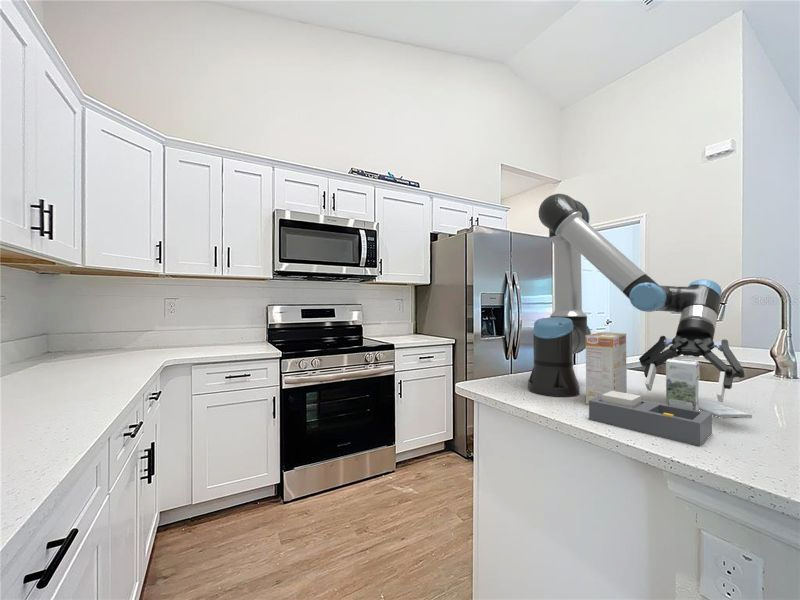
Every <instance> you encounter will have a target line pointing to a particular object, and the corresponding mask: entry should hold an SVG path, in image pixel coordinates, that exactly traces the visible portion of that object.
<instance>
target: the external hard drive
mask: <svg viewBox="0 0 800 600" xmlns="http://www.w3.org/2000/svg"><path fill="white" fill-rule="evenodd" d="M698 403H699V410H700V411H704V412H709V413H712V415H713V416H712V417H715V416H717V417H716V418H718V417H720V418H719V419H753V414H750V413H747V412H745V411H744V412H743V411H741V410H738V409H735V408H732V407H729V406H727V405H723V404H720V403H716V402H714V401H710V400H707V399H698ZM721 417H723V418H721Z"/></svg>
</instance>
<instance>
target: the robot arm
mask: <svg viewBox="0 0 800 600" xmlns="http://www.w3.org/2000/svg"><path fill="white" fill-rule="evenodd" d="M538 219H539V221H540V223H541V224H542V225H543V226H544V227H546V228H547V229H548V237H549V238H548V239H549V241H550V242H551V243H553V262H554V263H553V265H554V267H553V268H554V273H553V275H554V311H553V312H552V313H551V314H550V315H549V316H550V317H542V318H538V319H537V320H535V321H534V323H533V330H532V333H533V367H532V370H531V372H530V375H529V378H528V381H527V390H528V391H530V392H531V393H535V394H539V395H543V396H548V397H549V396H550V397H574V396H578V395H580V385H579V382H578V379H577V375H576V374H575V373H576V372H575V370H574V355H576V354H578V353H579V354H580V353H582V352H583V351H584V350H586V337H585V336H586V335H590V334H592V330H591V329H590V327H589V326H588V315H587V314H586V313H585V312H584V311H583V309H582V308H583V301H582V300H583V299H582V298H583V297H582V294H583V292H582V290H583V289H582V287H583V286H582V256H583V257H584V258H585V259H586V260H587V261H588V262H589V263H590V264H592V266H594V267H595V269H597V270H598V271H599V272H600V273H601V274H602V275H604V277H605V278H606V279H608V281H610V282H611V283H612V284H613V285H614V286H615V287H616V288H617V289H618V290H619V291H620V292H622V294H623V295H624V296H625V297H626V298H627V299H629V302H630V304H631V305H632V306H633V307H634V308H635V309H637V310H639V311H642V312H648V313H652V312H657V311H658V312H668V313H669V312H671V313H678V314H679V313H681V314H680V317H679V322H678V325H677V329H676V333H675V336H674V337H673V338H667V337H666V336H665V335H660V336H659V339H658V341H657V342H655V344H653V345H652V346H651V347H650V348H649V349H648V350H647V351H646V352H645V353H643V355H641V356H640V357H639V358H638V360H639V363H640V366H642V367H644V370H643V374H644V377H645V378H646V379H645V383H644V385H645V387H646V389H647V391H649V392H651V391H652V389H653V385H654V381H655V378H656V374H657V367H659V366H661V365H662V364H664V363H666V361H667V360H668V359H670V358H671V359H675V358H678V357H679V356H682V355H683V357H691V356H692V357H695V358H699V357H703V358H704V359H705V360H706V361H709V363H710V364H712V365H713V366H714V367H715V368H716V369H717V370H719V379H718V384H717V389H716V390H717V391H716V397H717V400H718V401H717V402H719V403H724V399H725V398H724V397H725V393H726V392H725V391H726V390H731V389H732V387H733V381H734V378H739V379H741V378H742V379H743V378H745V377H746V375H745V370H744V367H743V365H742V364H741V363H740V362H739V360H738V358H737V357H736V356H735V354H734V353H733V352H732V350H731V349H730V345H729V341H728V340H727V339H726V338H725V339H722V340H721V341H714V337H715V334H716V333H715V331H716V327H717V321H718V316H719V311H720V310H719V309H720V307H721V302H722V291H723V290H722V288H721V286H720V285H719V283H717V282H715V281H714V280H710V279H705V278H704V279H697V280H694V281H693V280H692V281H691V282H690V283H689V284H688V286H674V285H673V286H672V285H660V284H658V283H657V282H656V281H655V280H654V279H653V278H652V277H650V276H649V275H648V274H647V273H645V272H644V271H643V270H642V269H641V267H639V266H638V265H636V264H635V263H634V262H633V261H632V260H630V259H629V257H627V256H626V255H625V254H624V253H623V252H622V251H620V250H619V249H618V248H617V247H616V246H615V245H613V244H612V242H610V241H609V240H608V239H607V238H605V236H603V235H602V234H601V233H600V232H599V231H598V230H596V229H595V228H594V227H593V226H592V225H591V224H589V223H590V219H591V218H590V212H589V210H588V209H587V207H586V206H585V205H584V204H583V203H582V202H581V201H579V200H577V199H576V200H575V199H574V198H572V197H571V196H569V195H568V194H564V193H554V194H552V195H549V196H547V197H546V198H545V199H543V201H541V204H540V205H539V208H538ZM668 347H669V348H668ZM666 348H667V349H666ZM715 348H716V349H717V351H720V352H721V353H722V354H723V357H725V359H726V361H727V362H728V363H729V365H730V367H729V365H727V364H726V362H724V361H723V360H722V359H721V358H719V357H718V356H717V355H716V354H715V353H714V352H713V350H714V349H715Z"/></svg>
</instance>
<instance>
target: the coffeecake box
mask: <svg viewBox="0 0 800 600" xmlns="http://www.w3.org/2000/svg"><path fill="white" fill-rule="evenodd" d="M585 337H586V348H585V405H586V404H587V406H589V400H592V399H594V398H597V397H599V396H602V394H605V393H608V392H610V391H617V392H622V393H628V391H627V390H628V388H627V387H628V383H627V381H628V380H627V377H628V375H627V374H628V373H627V372H628V371H627V333H624V332H623V333H622V332H611V331H610V332H609V331H601V332H596V333H591V334H590V335H586V336H585Z"/></svg>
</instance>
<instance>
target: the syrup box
mask: <svg viewBox="0 0 800 600" xmlns="http://www.w3.org/2000/svg"><path fill="white" fill-rule="evenodd" d="M699 364H700V363H699V361H698V360H691V359H683V358H681V359H679V358H672V359H671V358H670V359H668V360H667V361H666V362H665V393H666V395H665V397H666V398H665V401H666V403H665V404H666V405H671V406H677V407H682V408H687V409H693V410H698V411H699V403H698V400H699V382H700V381H699V373H700V372H699V367H700V365H699Z"/></svg>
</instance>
